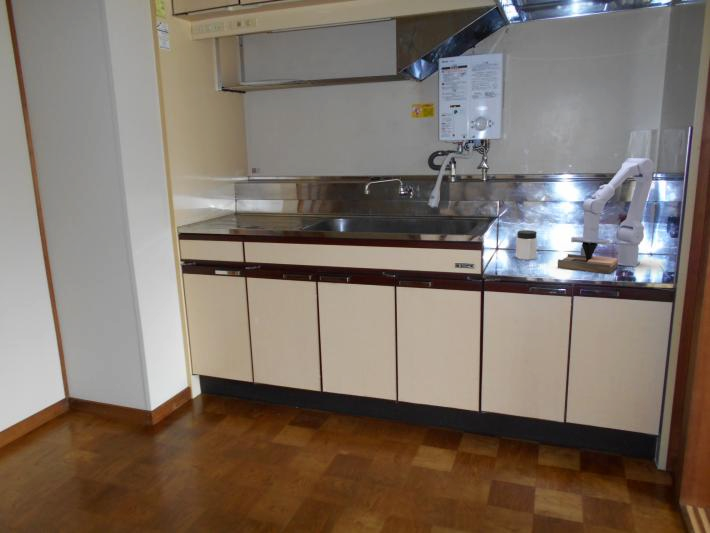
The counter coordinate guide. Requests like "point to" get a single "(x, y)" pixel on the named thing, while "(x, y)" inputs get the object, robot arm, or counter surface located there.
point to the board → (584, 264)
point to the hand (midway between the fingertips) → (588, 260)
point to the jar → (526, 245)
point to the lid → (603, 260)
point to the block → (583, 251)
